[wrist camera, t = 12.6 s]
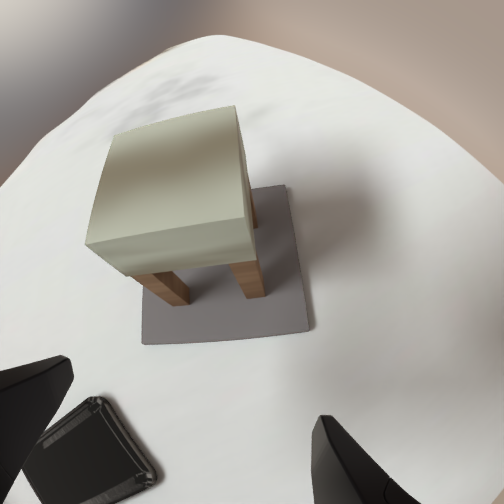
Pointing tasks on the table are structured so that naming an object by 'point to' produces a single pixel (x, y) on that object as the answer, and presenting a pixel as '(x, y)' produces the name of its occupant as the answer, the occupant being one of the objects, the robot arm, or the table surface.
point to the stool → (177, 204)
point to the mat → (237, 289)
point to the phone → (88, 459)
